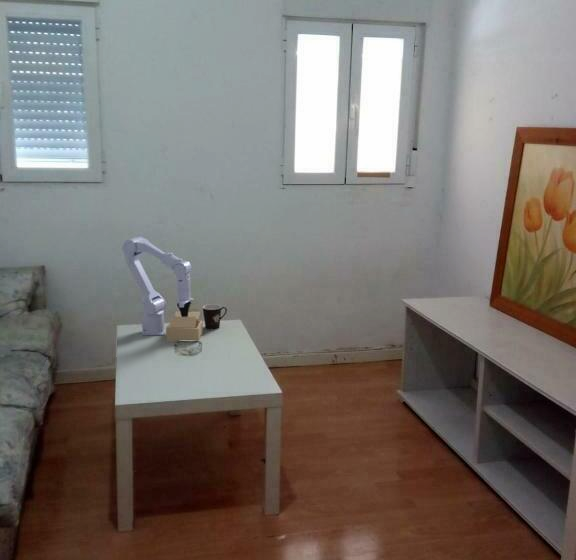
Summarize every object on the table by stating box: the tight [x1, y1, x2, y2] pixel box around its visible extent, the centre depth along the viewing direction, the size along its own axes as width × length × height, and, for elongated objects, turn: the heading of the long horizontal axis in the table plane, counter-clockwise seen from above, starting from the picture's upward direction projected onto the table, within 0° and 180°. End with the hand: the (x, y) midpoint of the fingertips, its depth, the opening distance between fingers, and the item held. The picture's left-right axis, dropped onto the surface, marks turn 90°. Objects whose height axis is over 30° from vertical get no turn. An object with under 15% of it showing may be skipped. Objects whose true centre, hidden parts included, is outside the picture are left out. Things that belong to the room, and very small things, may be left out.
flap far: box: [174, 310, 201, 320], centre depth 287 cm, size 5×11×1 cm
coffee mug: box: [202, 303, 228, 331], centre depth 294 cm, size 12×9×10 cm
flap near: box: [169, 316, 196, 328], centre depth 276 cm, size 5×11×1 cm
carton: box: [165, 319, 204, 343], centre depth 281 cm, size 14×12×6 cm
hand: (184, 318), depth 280 cm, fingers closed
